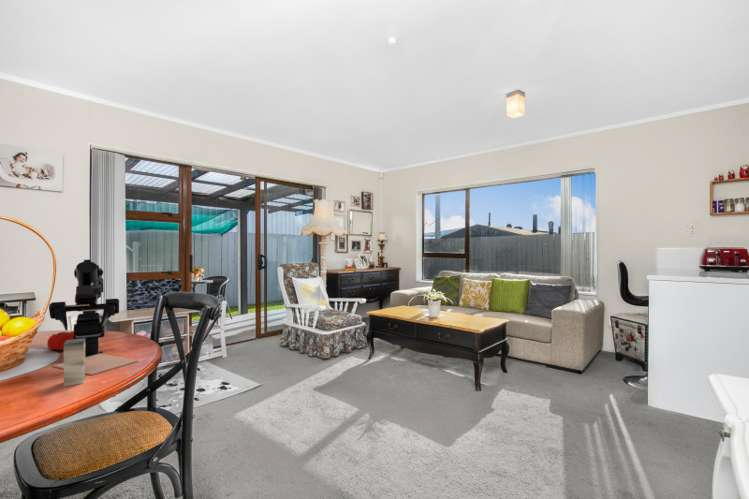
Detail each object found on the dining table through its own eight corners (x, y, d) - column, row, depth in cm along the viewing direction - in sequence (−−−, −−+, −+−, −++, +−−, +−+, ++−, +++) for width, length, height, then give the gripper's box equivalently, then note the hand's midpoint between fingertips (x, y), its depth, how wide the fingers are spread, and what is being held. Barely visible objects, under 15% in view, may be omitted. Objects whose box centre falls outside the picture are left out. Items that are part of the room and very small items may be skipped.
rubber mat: (52, 366, 123) (52, 365, 123) (100, 354, 137) (100, 353, 137) (91, 375, 115) (91, 374, 115) (138, 361, 129) (138, 360, 129)
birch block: (66, 381, 110) (66, 340, 110) (85, 378, 112) (85, 338, 112) (63, 386, 106) (63, 343, 106) (83, 383, 109) (83, 341, 108)
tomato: (54, 347, 147) (54, 331, 147) (87, 344, 150) (87, 329, 150) (42, 353, 137) (42, 336, 137) (77, 351, 141) (77, 334, 141)
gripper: (50, 278, 119) (43, 315, 110) (119, 275, 130) (118, 309, 121) (53, 300, 125) (47, 337, 116) (119, 296, 136) (119, 330, 127)
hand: (84, 327), depth 120 cm, fingers open, 9 cm apart
